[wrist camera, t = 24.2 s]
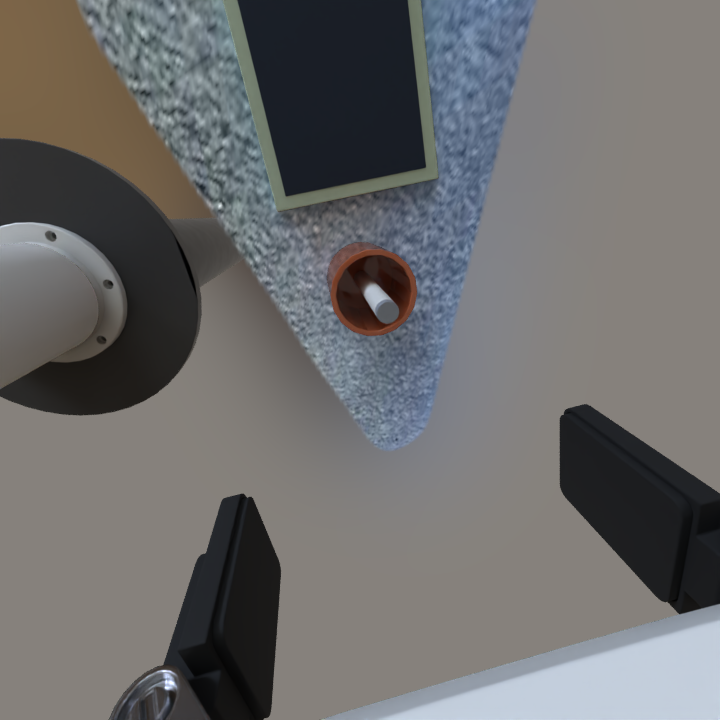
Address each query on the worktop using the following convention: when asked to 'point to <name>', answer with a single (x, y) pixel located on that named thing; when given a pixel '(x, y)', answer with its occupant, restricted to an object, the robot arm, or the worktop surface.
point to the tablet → (336, 95)
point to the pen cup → (384, 271)
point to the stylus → (376, 298)
